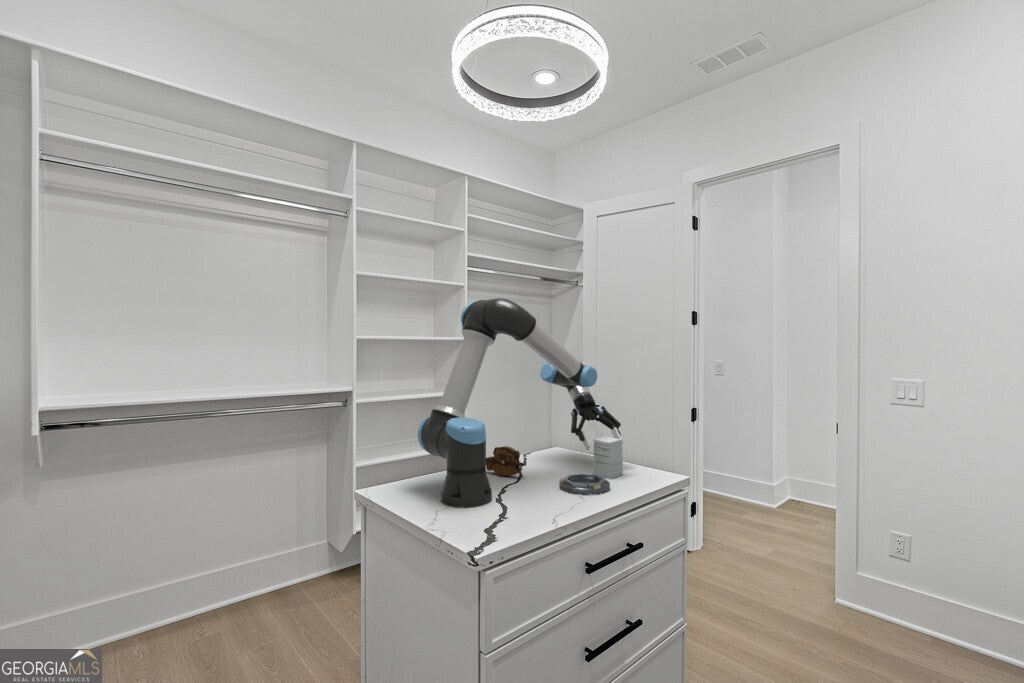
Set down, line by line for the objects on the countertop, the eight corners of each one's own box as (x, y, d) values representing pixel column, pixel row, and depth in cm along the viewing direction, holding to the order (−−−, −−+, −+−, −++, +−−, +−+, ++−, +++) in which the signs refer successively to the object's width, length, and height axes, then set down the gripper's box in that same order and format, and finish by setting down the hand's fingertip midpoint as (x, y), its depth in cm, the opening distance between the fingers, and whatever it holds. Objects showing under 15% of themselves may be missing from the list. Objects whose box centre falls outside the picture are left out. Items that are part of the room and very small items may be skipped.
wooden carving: (480, 474, 177) (480, 445, 177) (487, 471, 181) (487, 443, 181) (521, 480, 168) (521, 450, 168) (527, 477, 172) (527, 448, 172)
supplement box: (606, 471, 179) (605, 436, 179) (623, 475, 173) (623, 439, 173) (593, 475, 174) (592, 439, 174) (610, 479, 168) (610, 442, 168)
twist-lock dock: (575, 497, 149) (575, 488, 149) (550, 483, 164) (550, 475, 164) (620, 491, 155) (619, 482, 155) (592, 478, 170) (592, 470, 170)
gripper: (606, 403, 198) (629, 448, 184) (550, 407, 188) (570, 455, 175) (613, 391, 193) (638, 436, 179) (557, 394, 183) (578, 443, 170)
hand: (605, 446), depth 177 cm, fingers open, 13 cm apart
